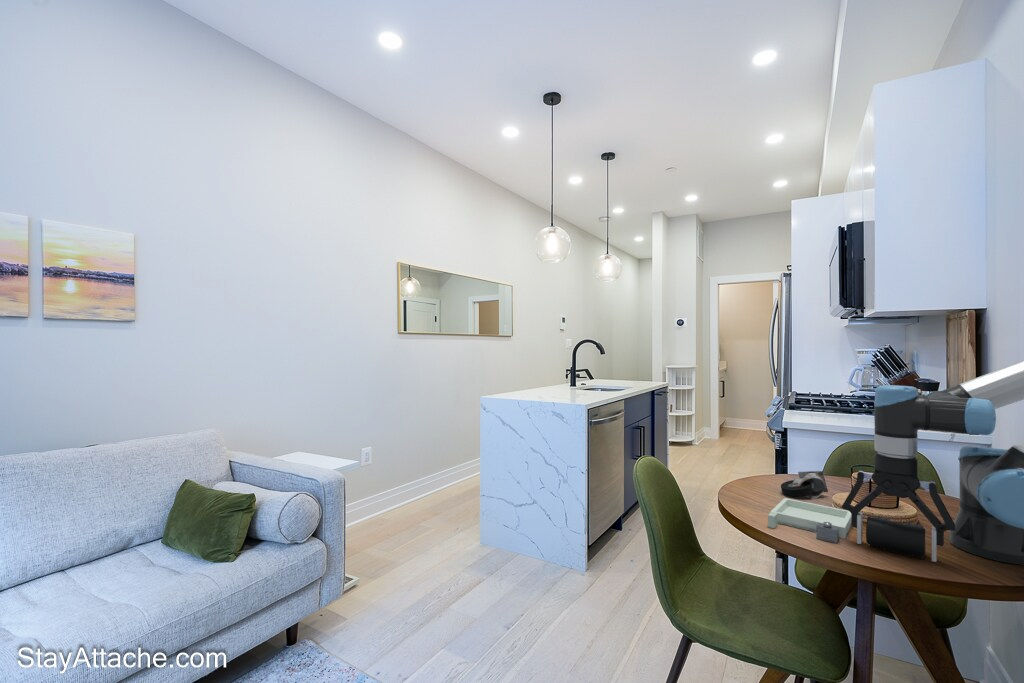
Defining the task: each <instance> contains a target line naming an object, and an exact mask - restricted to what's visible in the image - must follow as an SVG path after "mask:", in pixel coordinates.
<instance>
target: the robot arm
mask: <svg viewBox="0 0 1024 683" xmlns="http://www.w3.org/2000/svg"><path fill="white" fill-rule="evenodd" d="M918 391H919V390H918V388H917V387H914V386H911V385H910V386H909V385H895V384H893V385H891V384H883V385H879V386H877V387H876V389H875V391H874V392H875V393H874V404H873V405H874V406H873V407H874V408H873V409H874V411H873V412H874V413H873V414H874V417H873V418H874V434H873V435H874V438H873V440H874V442H873V443H874V451H875V454H874V463H873V464H874V470H873V472H872V473H870V472H865V471H864V470H862V469H861V470H859V471H858V472H857V475H856V482H855V483H854V485H853V487H852V488H851V490H850V492H849V493H848V495H847V497H846V498H845V500H844V502H843V503H842V505H841V509H843V510H848V511H850V512H851V527H852V528H855V529H856V543H857V544H858V545H862V544H863V536H864V535H863V533H864V532H863V521H864V520H863V517H864V515H863V512H861V511H862V510H863V509H864V508H866V507H867V506H868V505H869V504H870V503H871V502H873V501H874V500H875V499H876V498H877V497H879V496H880V495H881V494H884V495H886V496H888V497H898V498H900V499H905V498H908V499H909V500H910V501H911V502H912V503H913V504H914V505H915V506H916V508H918V509H919V511H920V512H921V513H922V514H923V516H924V517H925V518H926V519H927V520H928V522H930V523H931V562H937V546H939V547H944V544H945V543H944V542H945V540H944V539H945V534H944V533H946V531H949V538H948V541H949V542H950V544H952V545H953V546H954V547H956V548H958V549H960V550H962V551H964V552H967V553H968V554H969V553H970V554H972V555H975V556H978V557H982V558H986V559H989V560H993V561H998V562H1001V563H1007V564H1013V565H1014V564H1015V565H1021V566H1023V565H1024V444H1021V445H1019V444H1014V445H1012V446H1011V447H1010V448H1008V449H1004V448H993V447H982V446H971V445H970V446H968V445H967V446H962V447H961V448H960V449H959V456H958V457H957V459H958V461H959V462H958V463H959V471H958V472H959V476H958V477H959V508H958V512H957V515H956V516H955V519H954V520H953V518H952V517H951V514H950V513H949V511H948V509H947V507H946V505H945V503H944V502H943V500H942V498H941V496H940V494H939V492H938V486H937V482H936V481H934V480H930V481H924V480H923V481H922V480H920V479H919V477H918V474H919V473H918V468H919V466H918V464H919V462H918V458H917V457H916V456H918V450H919V449H918V443H919V442H918V441H919V439H918V438H919V436H918V433H919V432H918V431H919V430H921V431H931V432H941V433H942V432H943V433H953V434H961V435H962V434H963V435H969V436H973V435H977V436H978V435H982V436H989V435H991V434H992V433H993V432H994V431H995V429H996V425H997V424H996V423H997V416H996V415H997V414H996V410H997V409H1000V408H1003V407H1006V406H1008V405H1011V404H1014V403H1017V402H1021V401H1023V400H1024V359H1023V360H1020V361H1018V362H1015V363H1012V364H1009V365H1007V366H1004V367H1002V368H999V369H996V370H994V371H991V372H988V373H986V374H982V375H980V376H978V377H975V378H972V379H970V380H966V381H964V382H962V383H959V384H957V385H954V386H951V387H948V388H946V389H943V390H935V391H931V392H928V393H927V394H925V395H920V394H919V392H918ZM869 480H872V482H874V484H875V485H876V486H875V487H874V488H873V489H872V491H870V492H869V493H867V495H865V496H864V497H863V498H862V499H861V500H859V502H857V503H856V504H855V505H852V502H853V501H854V499H855V498H856V496H857V494H858V493H859V491H860V490H861V488H862V486H863V485H864V483H867V482H868V481H869ZM920 487H921V488H922V489H923V490H924V492H926V493H929V495H930V497H931V500H932V502H933V504H934V506H935V507H936V509H937V512H939V514H940V517H941V518H942V520H943V522H942V521H941V520H940V519H939V518H938V517H937V516H936V515H935V514H934V512H933V511H932V510H931V509H930V508H929V507H928V505H927V504H926V503H925V502H924V501H923V499H922V498H921V497H920V496H919V494H918V493H917V492H916V491H917V490H918V489H920Z"/></svg>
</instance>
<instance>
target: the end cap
mask: <svg viewBox="0 0 1024 683" xmlns="http://www.w3.org/2000/svg"><path fill="white" fill-rule="evenodd" d="M865 526H866V527H865V538H866V539H865V541H866V544H868V545H869V547H871V548H876V549H877V550H882V551H883V550H884V551H887V552H891V553H892V552H893V553H895V554H899V555H904V556H908V557H912V558H917V559H920V560H922V559H923V558H925V557H926V528H924V526H923V525H921V524H918V523H913V522H910V521H905V523H901V522H896V521H891V520H890V518H888V517H883V516H879V515H874V516H873V517H871V516H868V517H867V520H866V525H865Z"/></svg>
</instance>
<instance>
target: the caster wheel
mask: <svg viewBox="0 0 1024 683" xmlns="http://www.w3.org/2000/svg"><path fill="white" fill-rule="evenodd" d="M797 473H798V477H799V478H794V479H792V480H787V481H784V482H783V483H781V484H780V489H781V492H782V495H783V496H785V497H787V498H791V499H792V498H794V499H797V498H798V499H799V498H807V499H811V500H813V499H814V500H816V499H818V498H819V497H820V496H822V494H823V493H828V492H829V489H828V486H827V482H826V479H825V476H824V471H822V470H812V471H798V472H797Z"/></svg>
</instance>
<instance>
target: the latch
mask: <svg viewBox="0 0 1024 683" xmlns="http://www.w3.org/2000/svg"><path fill="white" fill-rule="evenodd" d="M815 534H816V539H817V540H821V541H824V542H825V541H826V542H829V543H834V544H837V543H838V541H839V539H840V538H839V527H837V526H832V524H831V523H830V522H824V524H823V523H818V525H817V526H816V532H815Z"/></svg>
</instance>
